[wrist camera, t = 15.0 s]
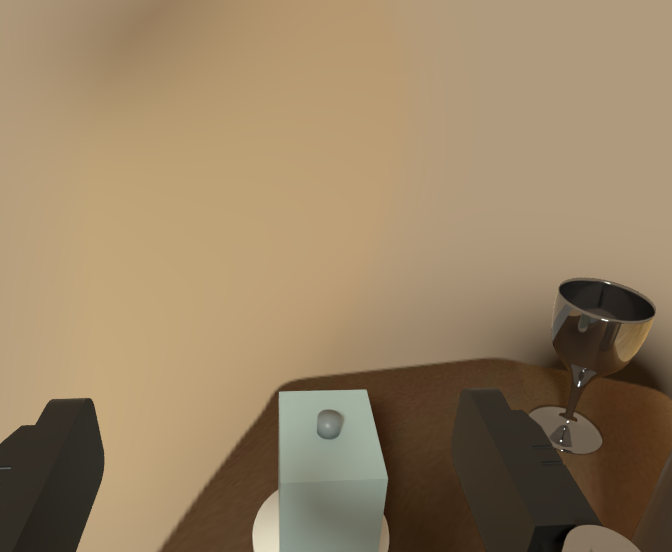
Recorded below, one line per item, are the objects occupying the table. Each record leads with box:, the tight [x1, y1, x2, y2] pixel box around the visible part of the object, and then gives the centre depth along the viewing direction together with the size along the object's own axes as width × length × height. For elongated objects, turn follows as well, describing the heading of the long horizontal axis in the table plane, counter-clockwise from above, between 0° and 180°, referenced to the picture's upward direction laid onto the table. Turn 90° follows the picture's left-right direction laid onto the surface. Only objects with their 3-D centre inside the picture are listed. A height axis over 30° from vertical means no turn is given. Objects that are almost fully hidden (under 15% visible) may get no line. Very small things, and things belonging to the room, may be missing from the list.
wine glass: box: [529, 278, 656, 454], centre depth 51 cm, size 8×8×15 cm
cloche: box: [278, 390, 388, 552], centre depth 38 cm, size 7×9×11 cm
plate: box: [253, 490, 389, 552], centre depth 41 cm, size 10×10×1 cm
